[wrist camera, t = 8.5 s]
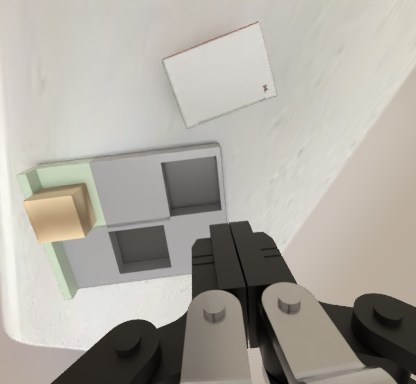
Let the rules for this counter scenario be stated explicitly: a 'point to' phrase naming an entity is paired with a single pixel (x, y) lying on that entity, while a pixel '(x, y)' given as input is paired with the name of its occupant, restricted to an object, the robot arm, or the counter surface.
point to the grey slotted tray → (135, 214)
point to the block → (61, 213)
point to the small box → (221, 75)
